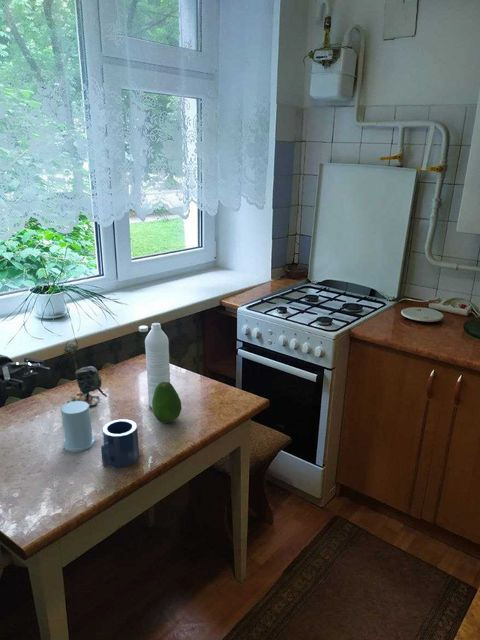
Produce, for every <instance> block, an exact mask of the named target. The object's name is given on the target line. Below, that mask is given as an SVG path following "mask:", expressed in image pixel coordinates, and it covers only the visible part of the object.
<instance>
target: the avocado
mask: <svg viewBox="0 0 480 640" xmlns="http://www.w3.org/2000/svg"><path fill="white" fill-rule="evenodd" d="M151 409H152V412H153V414H154V417H155V418H156V419H157V421H158V422H160V423H162V424H163V423H164V424H168V423H173V422H174V421H176V420H177V419H178V418H179V417H180V415H181V411H182V401H181V398H180V395H179V394H178V392H177V390H176V389H175V388H174V386H173V384H172V383H171V382H170V383H169V382H161V383H159V384H158V385H157V387H156V389H155V392H154V396H153V400H152V407H151Z"/></svg>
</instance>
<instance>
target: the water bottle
mask: <svg viewBox="0 0 480 640" xmlns="http://www.w3.org/2000/svg"><path fill="white" fill-rule="evenodd" d="M150 328H151V329H150V331H149V326H147V325H140V326H138V332H141V333H145V332H148V331H149V332H148V333H147V335H146V336H145V339H144V348H145V363H146V365H145V366H146V367H145V368H146V380H147V381H146V382H147V398H148V399H147V400H148V406H149V407H150V408H152V400H153V396H154V392H155V389H156V387H157V385H158V384H159V383H161V382H169V383H171V372H170V371H171V370H170V369H171V368H170V367H171V365H170V350H169V349H170V345H169V342H170V341H169V337H168V336H167V335H166V333H165V332H164V331H163V329H162V326H161V323H159V322H152V323H151V326H150Z"/></svg>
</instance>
